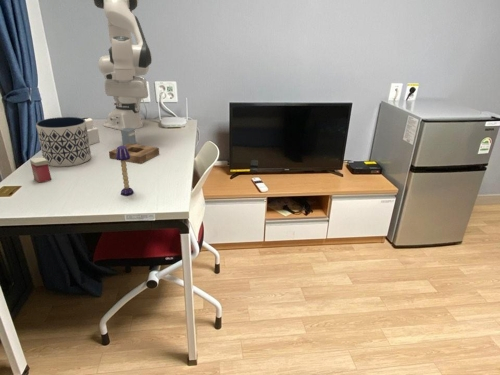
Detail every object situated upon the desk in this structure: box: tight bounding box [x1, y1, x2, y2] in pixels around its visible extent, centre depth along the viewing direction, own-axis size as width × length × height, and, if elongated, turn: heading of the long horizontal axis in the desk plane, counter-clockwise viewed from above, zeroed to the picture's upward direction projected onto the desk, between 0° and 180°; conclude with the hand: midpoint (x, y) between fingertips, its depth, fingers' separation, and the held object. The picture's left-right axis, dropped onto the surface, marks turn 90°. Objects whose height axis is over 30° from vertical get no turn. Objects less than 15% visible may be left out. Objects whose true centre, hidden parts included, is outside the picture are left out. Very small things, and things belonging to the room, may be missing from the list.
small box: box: [29, 156, 52, 183], centre depth 126 cm, size 5×4×8 cm
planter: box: [35, 116, 92, 168], centre depth 144 cm, size 18×18×16 cm
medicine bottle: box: [81, 117, 100, 146], centre depth 167 cm, size 7×7×12 cm
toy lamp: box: [115, 145, 135, 197], centre depth 117 cm, size 5×5×17 cm
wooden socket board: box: [108, 143, 160, 165], centre depth 154 cm, size 16×14×3 cm
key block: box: [120, 128, 137, 146], centre depth 167 cm, size 5×5×8 cm
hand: (128, 107), depth 159 cm, fingers open, 8 cm apart
